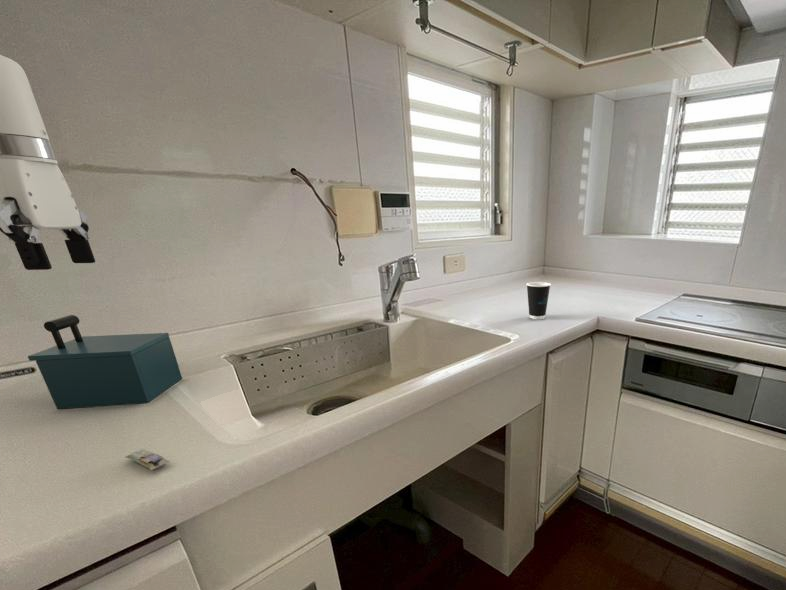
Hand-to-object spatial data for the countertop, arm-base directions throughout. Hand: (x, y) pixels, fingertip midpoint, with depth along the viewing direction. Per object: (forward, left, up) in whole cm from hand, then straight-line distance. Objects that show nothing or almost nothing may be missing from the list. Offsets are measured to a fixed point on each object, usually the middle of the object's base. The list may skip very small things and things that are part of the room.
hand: (63, 266), depth 68 cm
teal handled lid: (+3, -2, -14) cm, 15 cm away
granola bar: (+22, -29, -23) cm, 43 cm away
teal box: (+4, -2, -23) cm, 23 cm away
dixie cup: (+97, +42, -23) cm, 108 cm away
